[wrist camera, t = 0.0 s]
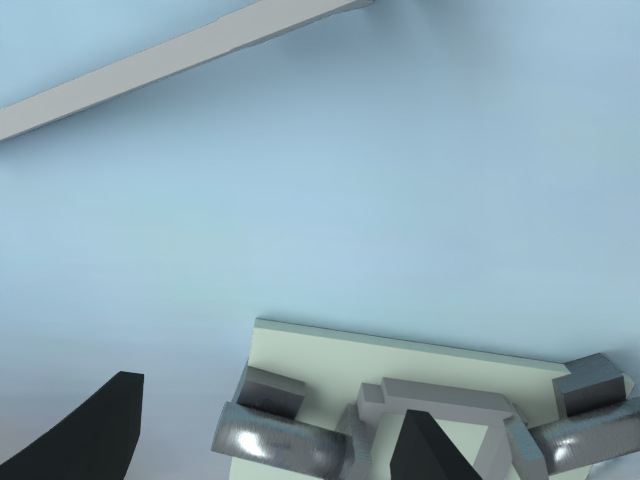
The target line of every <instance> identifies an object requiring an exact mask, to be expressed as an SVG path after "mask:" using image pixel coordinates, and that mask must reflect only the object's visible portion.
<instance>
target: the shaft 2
mask: <svg viewBox="0 0 640 480" xmlns="http://www.w3.org/2000/svg"><path fill="white" fill-rule="evenodd" d="M564 365H565V367H566V368H567V369H568V370H569V371H570V372H571V373H572V374H568V375H565V376H561V377H558V378H555V379H552V384H553V389H554V394H555V399H556V404H557V409H558V414H559V419H560V420H557V421H553V422H550V423H546V424H543V425H539V426H536V427H532V428H529V429H527V428H526V426H525V425H524V423H523V421H522V420H521V418H520V416H519V415H518V413H517V412H516V410H515V408H514V407H513V405H512V403H511V402H510V401H508V402H507V403H508V405H509V407H510V408H511V410H512V412H513V414H512V416H511V417H509V418H506V419H503V423H504V427H505V428H504V429H505V431H506V435H507V438H508V442H509V446H510V450H511V454H512V458H513V460H512V462H511V463H512V465H513V466H514V468H515V470H516V472H517V474H518V476H519V478H520V480H549V476H552V475H556V474H559V473H563V472H567V471H570V470H574V469H577V468H581V467H585V466H588V465H592V464H595V463H599V462H603V461H606V460H610V459H613V458H617V457H620V456H624V455H628V454H631V453H635V452H638V451H640V397H636V398H633V399H629V400H627V399H626V391H625V383H624V376H623V375H622V374H621V373H620V372H619V371H618V370H617V369H616V368H615V367H614V366H613V365H612V364H611V363H610V362H609V361H608V360H607V359H606V358H605V357H604V356H603V355H602V354H601V353H599V354H595V355H592V356H589V357H585V358H582V359H579V360H575V361H572V362H569V363H565V364H564Z"/></svg>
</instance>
